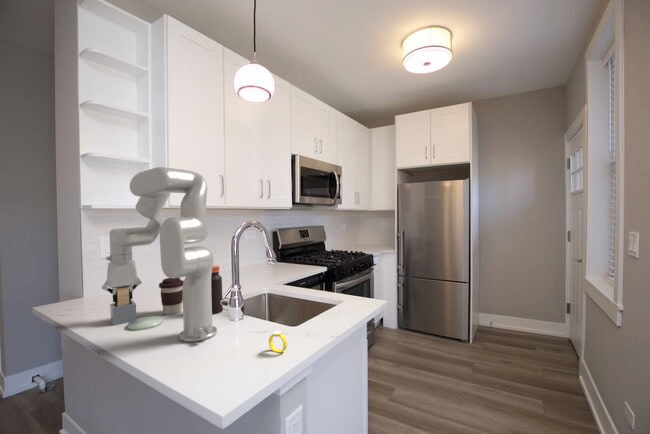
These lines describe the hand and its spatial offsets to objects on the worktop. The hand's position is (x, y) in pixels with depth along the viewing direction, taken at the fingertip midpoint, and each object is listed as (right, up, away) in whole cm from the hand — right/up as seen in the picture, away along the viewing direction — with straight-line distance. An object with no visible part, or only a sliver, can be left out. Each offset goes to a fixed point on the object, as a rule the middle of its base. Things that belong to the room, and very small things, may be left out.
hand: (122, 301), depth 126 cm
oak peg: (0, -8, 0) cm, 8 cm away
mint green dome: (+13, -8, -5) cm, 16 cm away
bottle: (+35, -7, +9) cm, 37 cm away
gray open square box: (0, -8, 0) cm, 8 cm away
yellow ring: (+69, -7, -32) cm, 76 cm away
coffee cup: (+16, -7, +9) cm, 20 cm away
